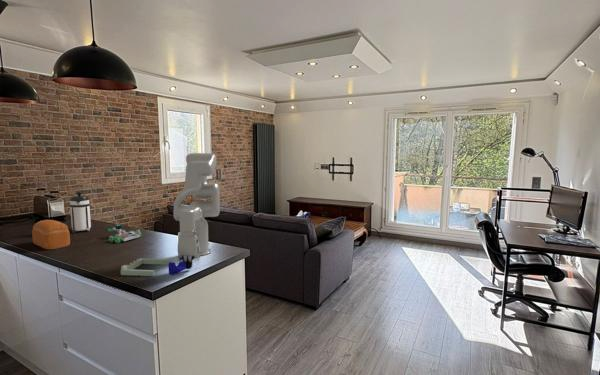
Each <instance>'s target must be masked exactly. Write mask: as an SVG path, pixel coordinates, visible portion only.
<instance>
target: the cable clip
mask: <svg viewBox="0 0 600 375" xmlns="http://www.w3.org/2000/svg"><path fill="white" fill-rule="evenodd" d="M188 257H189V256H188ZM185 270H187V269H186V266H185V261H184V259H183V258H182V260H181V261H179V262H178V264H176V262H173V261H170V263H168V275H171V276H175V275H177V274H179V273H181V272H183V271H185Z"/></svg>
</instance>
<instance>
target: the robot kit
mask: <svg viewBox="0 0 600 375" xmlns="http://www.w3.org/2000/svg"><path fill="white" fill-rule="evenodd" d="M107 230H108V232H117V233H118V234H117V233H116V234H114V235H110V236H108V241H109V242H110V243H116V244H121V243H122V242H126V241H129V240H133V239H138V238H142V232H141V230H140V229H136V230H129V231H126V230H125V229H122V224H116V225H115V227H112V228H108V229H107Z"/></svg>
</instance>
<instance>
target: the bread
mask: <svg viewBox="0 0 600 375" xmlns="http://www.w3.org/2000/svg"><path fill="white" fill-rule="evenodd" d="M31 234H32V243H33V244H34V245H36V246H38V247H41V248H42V249H45V250H56V249H61V248H65V247H69V246H70V245H71V236H70V235H71V234H70V231H69V227H68V225H67V224H65V223H63V222H61V221H58V220H56V219H55V220H54V219H43V220H40V221H37V222H36V223H34V224H33V226H32V231H31Z"/></svg>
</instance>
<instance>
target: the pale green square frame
mask: <svg viewBox="0 0 600 375" xmlns="http://www.w3.org/2000/svg"><path fill="white" fill-rule="evenodd" d="M170 262H171V259H168V258H167V259H166V258H136V260H133V262H129V264H124V265H121V268H120V275H121V276H135V277H137V276H138V275H139V276H138V277H140V276H141V277H154V276H156V273H155V270H153V269H152V270H151V269H136V268H137V267H139V266H141V265H142V264H143V265H165V266H166V265H168V263H170ZM168 266H169V265H168Z"/></svg>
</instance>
